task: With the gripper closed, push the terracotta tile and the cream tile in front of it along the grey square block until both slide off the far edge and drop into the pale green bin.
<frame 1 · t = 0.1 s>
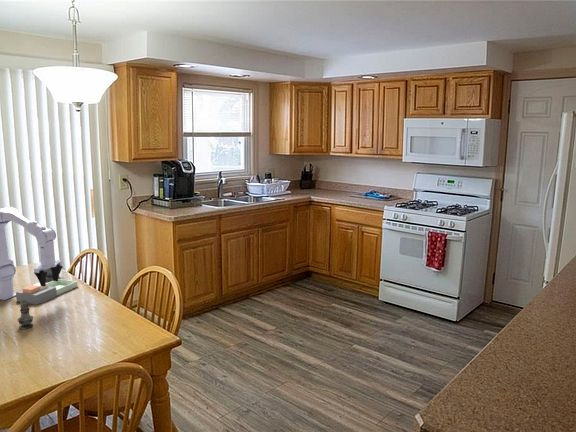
hand: (49, 283, 219), 10 cm above the table, tool pointing down, fingers open, 7 cm apart
mortar and pestle: (52, 278, 257), on the table
green bin: (57, 289, 240), on the table
cream tile: (40, 288, 229), point 4 cm above the table, touching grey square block
dark grey chess piece: (26, 327, 196), on the table
terracotta tile: (31, 291, 224), point 4 cm above the table, touching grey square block
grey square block: (36, 298, 227), on the table
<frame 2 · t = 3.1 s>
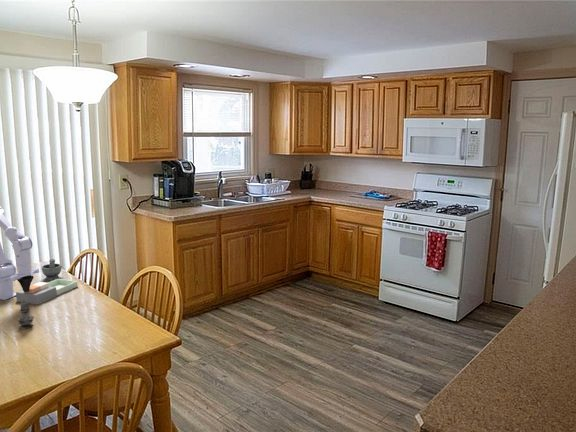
hand: (26, 291, 221), 5 cm above the table, tool pointing down, fingers closed
cream tile: (40, 287, 229), point 5 cm above the table, touching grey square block, terracotta tile
terracotta tile: (32, 291, 224), point 5 cm above the table, touching cream tile, gripper
everything else where it was.
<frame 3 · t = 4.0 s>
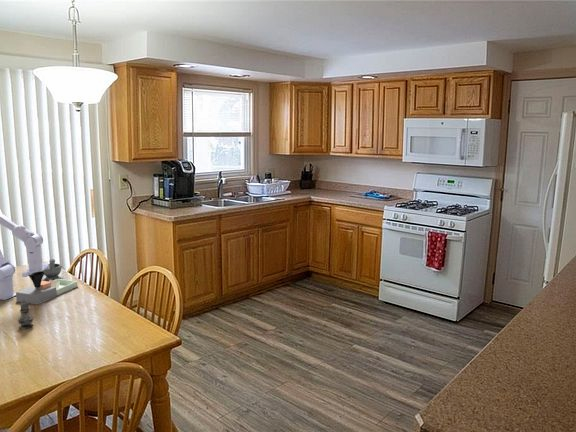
hand: (37, 287, 227), 6 cm above the table, tool pointing down, fingers closed
cream tile: (52, 285, 236), point 4 cm above the table, tilted 117°, touching green bin
terracotta tile: (43, 286, 230), point 5 cm above the table, touching gripper
everything else where it was.
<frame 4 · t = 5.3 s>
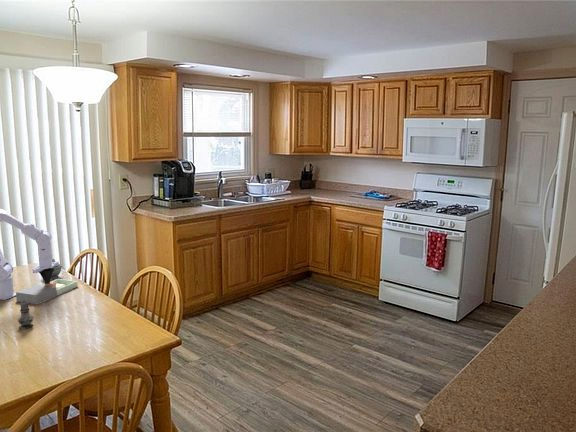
hand: (47, 283, 233), 6 cm above the table, tool pointing down, fingers closed
cream tile: (57, 285, 239), point 2 cm above the table, tilted 180°, touching green bin
terracotta tile: (48, 288, 234), point 3 cm above the table, tilted 90°, touching green bin
everything else where it was.
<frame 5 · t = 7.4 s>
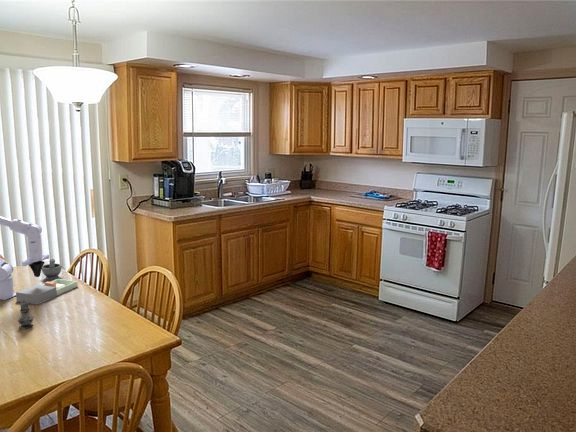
hand: (37, 276, 231), 9 cm above the table, tool pointing down, fingers closed
nothing on the table moved.
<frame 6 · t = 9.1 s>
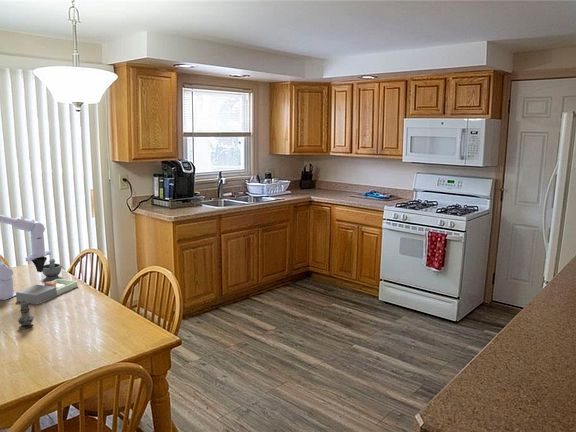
hand: (40, 271, 238), 9 cm above the table, tool pointing down, fingers closed
nothing on the table moved.
at the end: cream tile inside the target area (0.6 cm from its centre), point 2.4 cm above the table; terracotta tile inside the target area (6.3 cm from its centre), point 2.9 cm above the table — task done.
